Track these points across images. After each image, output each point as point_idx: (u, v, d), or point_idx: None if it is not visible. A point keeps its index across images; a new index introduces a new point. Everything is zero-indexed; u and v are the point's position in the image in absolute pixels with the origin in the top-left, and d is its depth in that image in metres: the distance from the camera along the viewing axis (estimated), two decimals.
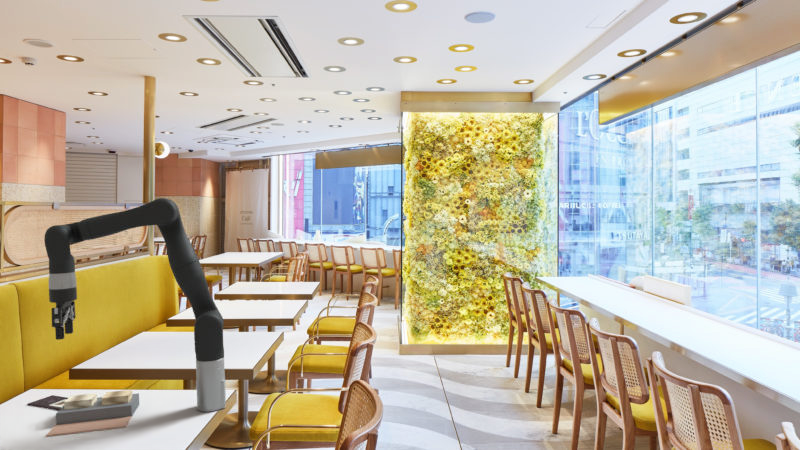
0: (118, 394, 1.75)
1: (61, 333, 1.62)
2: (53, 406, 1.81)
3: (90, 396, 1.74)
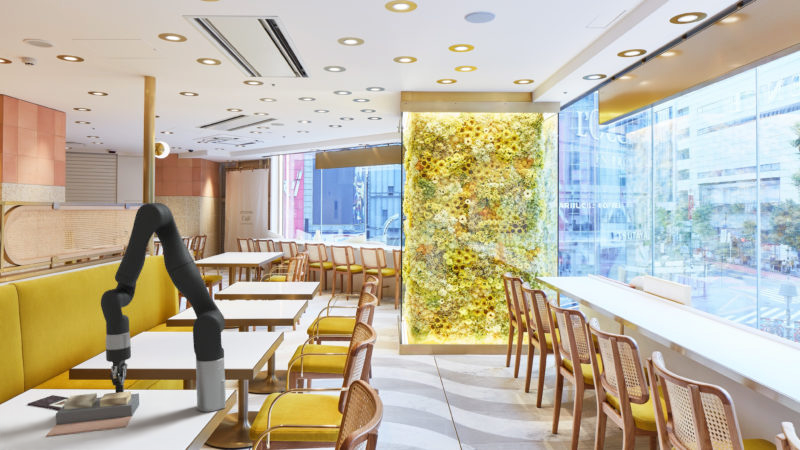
0: (116, 395, 1.74)
1: (120, 390, 1.78)
2: (53, 406, 1.82)
3: (90, 396, 1.74)
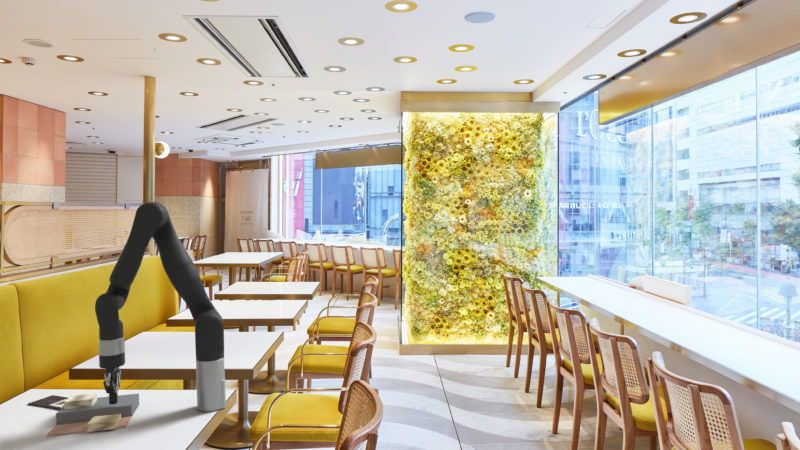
0: None
1: (114, 398, 1.70)
2: (53, 406, 1.82)
3: (90, 396, 1.74)
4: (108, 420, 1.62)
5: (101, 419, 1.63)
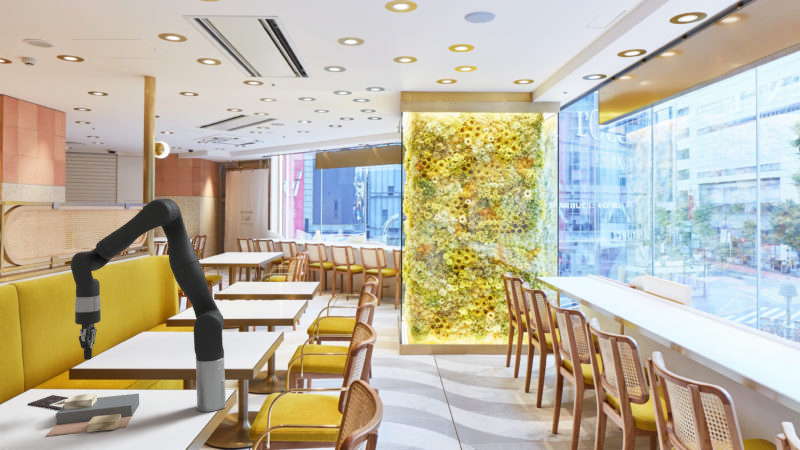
0: None
1: (89, 354, 1.77)
2: (53, 406, 1.82)
3: (90, 396, 1.74)
4: (108, 420, 1.62)
5: (101, 419, 1.63)
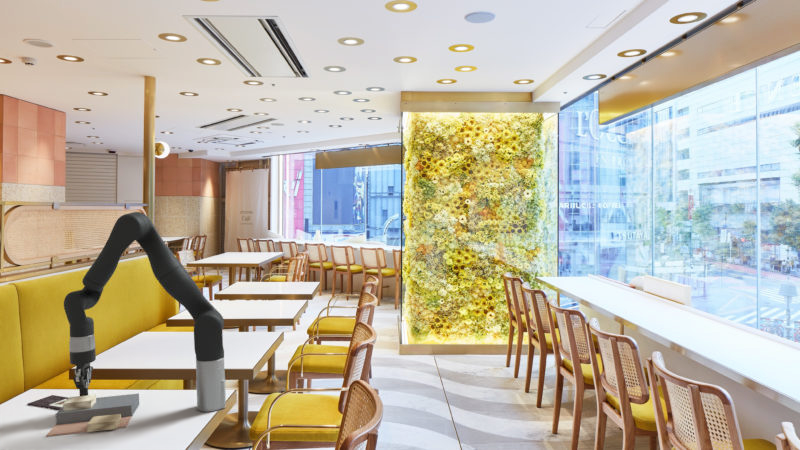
0: None
1: (85, 393, 1.75)
2: (53, 406, 1.82)
3: (89, 397, 1.72)
4: (108, 420, 1.62)
5: (101, 419, 1.63)
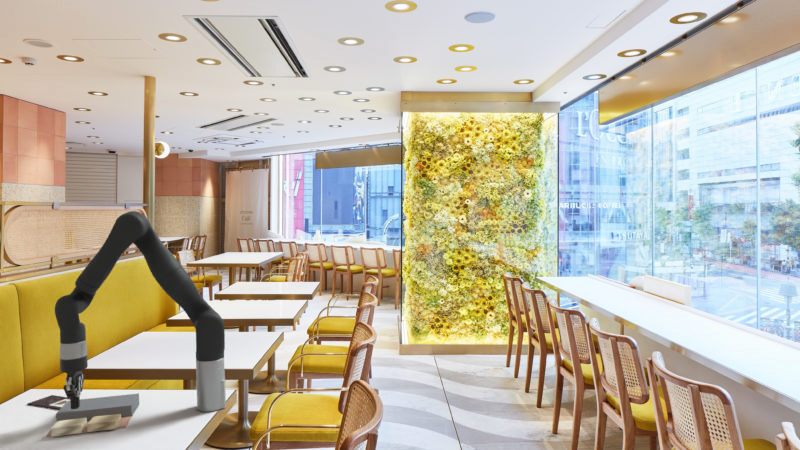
0: None
1: (76, 403, 1.66)
2: (53, 406, 1.82)
3: None
4: (108, 420, 1.62)
5: (101, 419, 1.63)
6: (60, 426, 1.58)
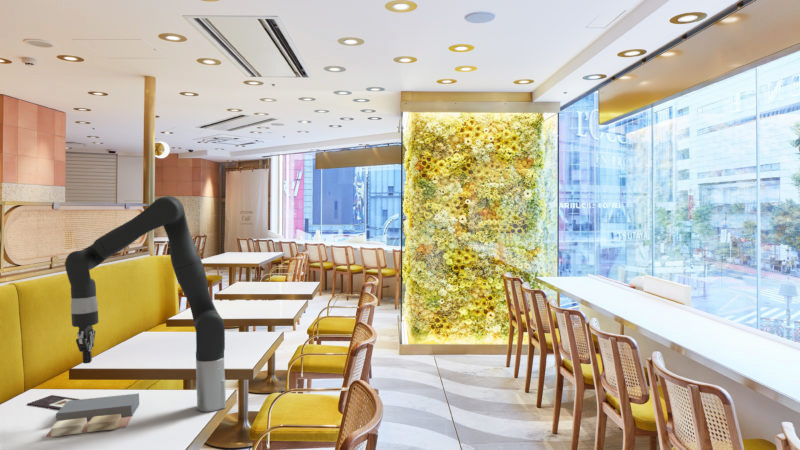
0: None
1: (88, 357, 1.69)
2: (53, 406, 1.82)
3: None
4: (108, 420, 1.62)
5: (101, 419, 1.63)
6: (60, 426, 1.58)
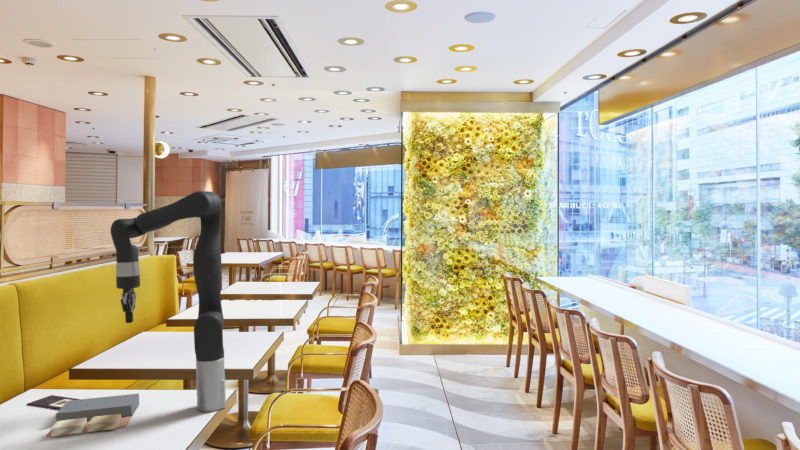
0: None
1: (130, 317, 1.84)
2: (53, 406, 1.82)
3: None
4: (108, 420, 1.62)
5: (101, 419, 1.63)
6: (60, 426, 1.58)
